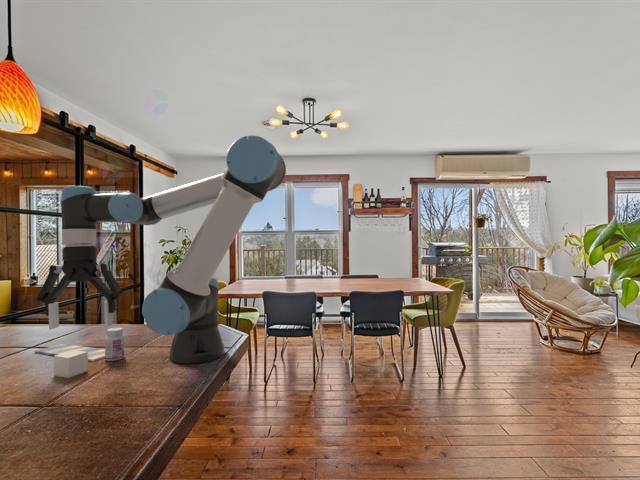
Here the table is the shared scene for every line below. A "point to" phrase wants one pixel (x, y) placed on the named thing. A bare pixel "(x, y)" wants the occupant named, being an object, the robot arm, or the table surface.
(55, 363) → the blank white cube
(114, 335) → the pill bottle
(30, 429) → the table surface
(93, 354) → the track
